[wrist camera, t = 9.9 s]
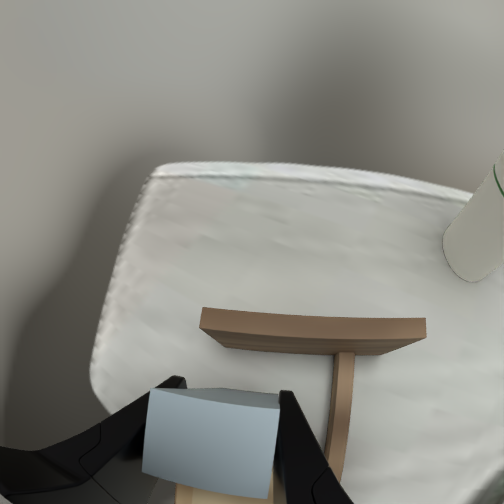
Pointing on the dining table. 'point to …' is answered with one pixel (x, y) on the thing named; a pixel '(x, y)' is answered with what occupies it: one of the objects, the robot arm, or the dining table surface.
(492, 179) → the cylindrical container
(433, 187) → the dining table surface
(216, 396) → the slate slat
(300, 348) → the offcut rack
